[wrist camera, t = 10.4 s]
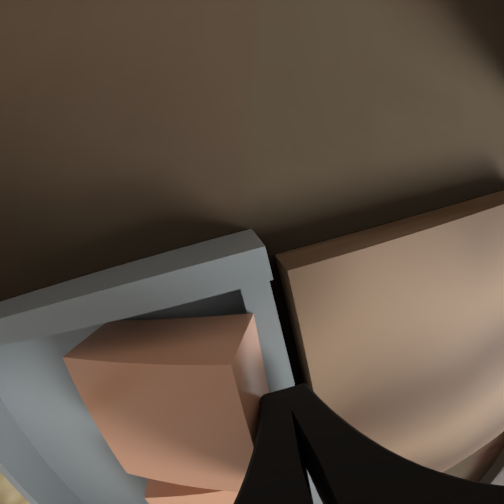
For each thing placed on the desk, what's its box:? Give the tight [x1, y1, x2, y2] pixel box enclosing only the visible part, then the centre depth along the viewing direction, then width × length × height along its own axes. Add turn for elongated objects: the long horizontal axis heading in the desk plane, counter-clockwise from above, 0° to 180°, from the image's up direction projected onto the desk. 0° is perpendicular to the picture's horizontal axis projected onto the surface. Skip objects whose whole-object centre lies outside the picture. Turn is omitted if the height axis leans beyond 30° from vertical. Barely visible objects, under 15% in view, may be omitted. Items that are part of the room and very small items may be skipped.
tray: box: [0, 229, 323, 504], centre depth 10 cm, size 16×14×3 cm
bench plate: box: [275, 190, 504, 472], centre depth 11 cm, size 14×12×2 cm
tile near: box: [62, 313, 269, 492], centre depth 8 cm, size 5×5×2 cm
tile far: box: [144, 478, 238, 504], centre depth 10 cm, size 5×5×2 cm
